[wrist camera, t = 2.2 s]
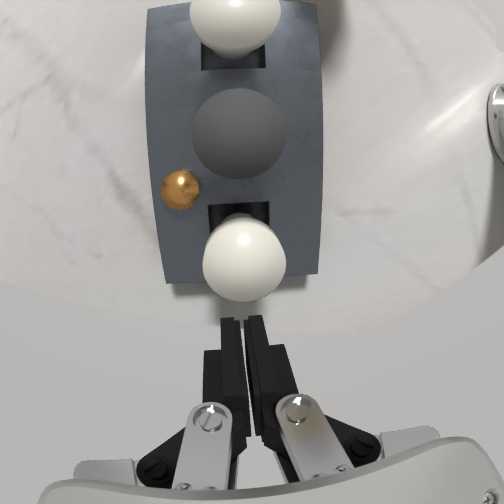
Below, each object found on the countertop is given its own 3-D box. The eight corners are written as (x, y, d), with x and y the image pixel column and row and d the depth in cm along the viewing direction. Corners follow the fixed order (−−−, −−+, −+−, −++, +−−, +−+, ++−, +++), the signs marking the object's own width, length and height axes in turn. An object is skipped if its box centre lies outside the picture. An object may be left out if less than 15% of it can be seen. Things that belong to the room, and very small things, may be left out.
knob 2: (271, 201, 22) (286, 224, 16) (271, 260, 24) (284, 298, 18) (205, 205, 22) (198, 229, 16) (211, 264, 24) (207, 304, 18)
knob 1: (265, 13, 15) (278, -21, 10) (268, 68, 18) (283, 44, 12) (199, 16, 15) (190, -19, 10) (199, 70, 17) (189, 47, 12)
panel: (155, 21, 17) (144, 4, 14) (306, 16, 18) (318, -1, 15) (171, 268, 27) (164, 289, 24) (309, 260, 28) (320, 278, 25)
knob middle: (269, 101, 19) (285, 88, 13) (270, 166, 21) (286, 177, 15) (200, 104, 18) (189, 91, 13) (203, 170, 20) (194, 182, 15)
